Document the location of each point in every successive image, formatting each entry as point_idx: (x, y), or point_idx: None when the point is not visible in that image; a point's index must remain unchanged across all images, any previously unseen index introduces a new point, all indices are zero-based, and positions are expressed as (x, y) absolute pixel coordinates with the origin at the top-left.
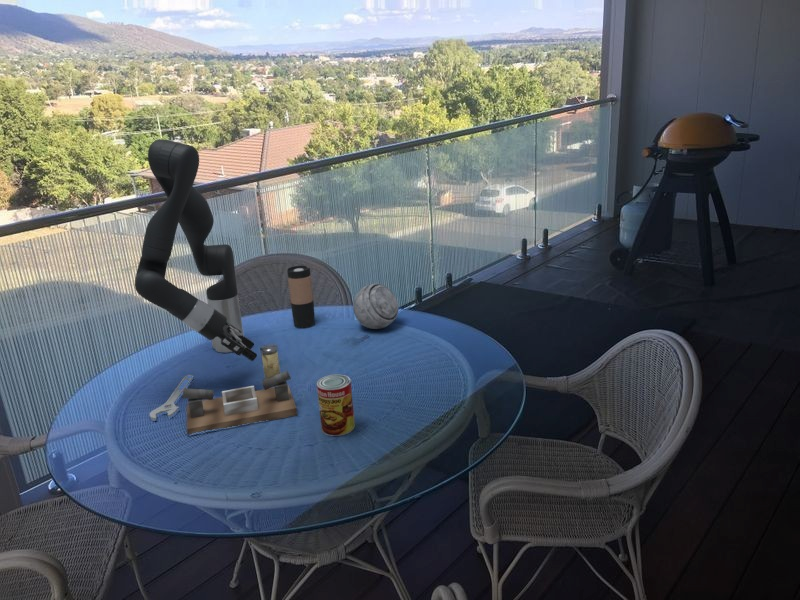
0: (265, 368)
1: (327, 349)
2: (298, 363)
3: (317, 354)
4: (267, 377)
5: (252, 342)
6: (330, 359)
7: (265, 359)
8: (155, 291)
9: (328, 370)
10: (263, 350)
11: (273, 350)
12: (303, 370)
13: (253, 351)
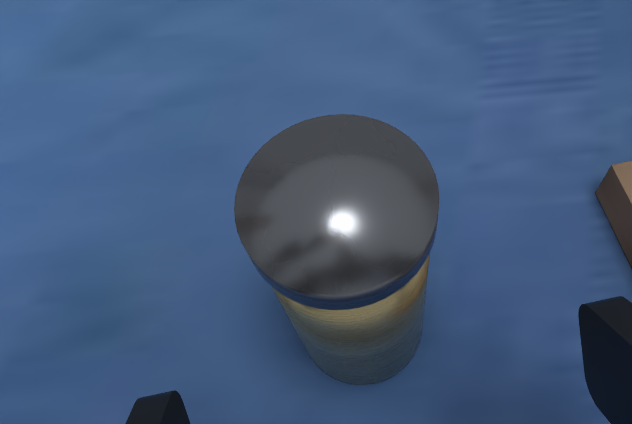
0: (411, 327)
1: (14, 50)
2: (146, 180)
3: (58, 91)
4: (415, 344)
5: (167, 407)
6: (161, 25)
7: (422, 280)
8: None
9: (309, 21)
10: (409, 248)
11: (415, 145)
12: None
13: (612, 330)
